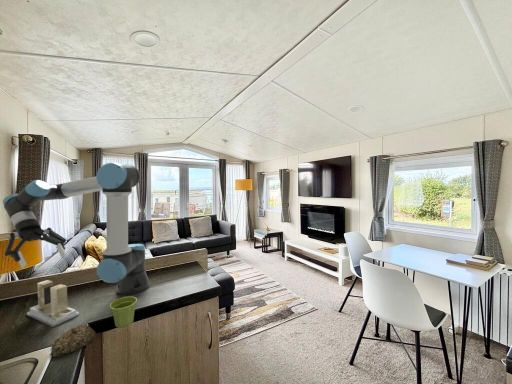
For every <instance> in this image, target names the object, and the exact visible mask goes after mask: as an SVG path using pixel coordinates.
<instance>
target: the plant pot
mask: <svg viewBox="0 0 512 384" xmlns="http://www.w3.org/2000/svg"><path fill="white" fill-rule="evenodd" d="M137 302H138V297H135V296H123V297H120V298H117V299H115V300H113V301H112V302H111V303H110V304H109V309H110V310H111V312H112V315H113V321H114V324H115V325H114V326H115V327H116V328H118V329H124V328H126V327H128V326H130V325H132V324H133V323H134V319H135V318H134V317H135V310H136V309H135V308H136V304H137Z"/></svg>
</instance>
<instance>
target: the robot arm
mask: <svg viewBox="0 0 512 384" xmlns="http://www.w3.org/2000/svg"><path fill="white" fill-rule="evenodd" d="M141 178H142V177H141V172H140V170H139V169H138V168H137V167H136V166H133V165H131V164H125V163H121V162H107V163H105V164H103V165H101V166H100V168H98V170H97V172H96V176H92V177H87V178H86V177H85V178H82V179H78V180H72V181H67V182H63V183H58V184H48V183H47V182H46V181H44V180H41V179H36V180H35V179H34V180H32V181H31V182H30V183H28V184H27V185H25V187H24V188H23V189H21V191H20V192H18V193H13V194H10V195H8V196H5V197H4V198H3V200H2V205H3V207H4V210H5V211H6V213H7V215H8V217H9V219H10V221H11V223H12V225H13V226H14V229H15V231H16V233H14V232H10V233H9V235H8V244H7V246H6V249H5V252H4V254H3V255H4V256H5V257H9V256H10V257H11V258H13V260H14V262H18V263H19V266H20V267H21V269H25V268H26V266H27V262H26V260H25V258H24V256H23V253H22V252H21V251H22V250H21V248H22V247H23V245H24V244H25V243H26V242H28V243H29V242H33V241H42V242H47V243H49V244H52V245H54V246H56V247H55V248H56V250H57V252H58V254H59V255H60V258H61V259H65V257H66V256H67V253H66V251H65V249H66V247H65V245H64V244H65V243H66V242H67V239H66V238H64V237H63V236H61V235H60V234H58V233H57V232H56V231H54V230H53V229H52V227H47V228H45V229H43V228H42V227H41V224H40V223H39V221H38V220H37V218H36V216H35V214H34V212H33V211H32V208H33V207H35V206H36V205H37V204H38V203H39V202H43V201H53V200H65V199H68V198H71V197H75V196H81V195H86V194H90V193H96V192H101V191H102V192H101V193H102V194H104V195H105V197H106V198H105V199H106V248H105V249H104V250H103V251H102V260H101V261H100V262H99V263H98V264H97V267H96V273H97V275H98V277H99V279H101V280H102V281H103V282H105V283H109V284H115V283H117V285H116V293H118V294H121V295H132V294H138V293H140V292H142V291H145V290H146V289H147V288H149V287H150V279H149V277H148V275H147V272H146V248H145V245H144V244H141V243H132V244H131V243H130V244H129V196H130V195H131V194H132V193H133V189H132V188H134V187H136V186H137V185H138V184H139V183H140V181H141ZM17 238H19V239H21V240H20V241H19V242H18V244H17V245H16V247H15V248H14V249H13V250H12V248H13V244H14V242H15V240H16V239H17ZM20 250H21V251H20Z"/></svg>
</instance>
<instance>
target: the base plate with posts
mask: <svg viewBox="0 0 512 384" xmlns="http://www.w3.org/2000/svg"><path fill="white" fill-rule="evenodd" d="M50 290H51V311H48V312H44V311H41V310H39V309H38V304H37V305H34V306H32V307H30V308H29V311H27V312H26V315H27V316H28V317H31V319H32V318H33V319H34V320H37V321H39V322H41V323H44V324H45V325H48V326H50V327H52V328H54V327H56V326H58V325H61V324H63V323H64V322H67V321H69V320H70V319H73V318H75V317H77V316H79V315H80V311H77V309H74V308H72V307H69V306H68V286H67V285H65V284H62V283H60V284H57V285H53V287H50Z"/></svg>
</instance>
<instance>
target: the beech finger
mask: <svg viewBox="0 0 512 384" xmlns="http://www.w3.org/2000/svg"><path fill="white" fill-rule="evenodd" d="M53 286H54V281H52V280H49V279H47V280H43V281H40V282H37V305H38V309H39V310H41V311H44V312H48V311H51V290H50V287H53Z"/></svg>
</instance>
